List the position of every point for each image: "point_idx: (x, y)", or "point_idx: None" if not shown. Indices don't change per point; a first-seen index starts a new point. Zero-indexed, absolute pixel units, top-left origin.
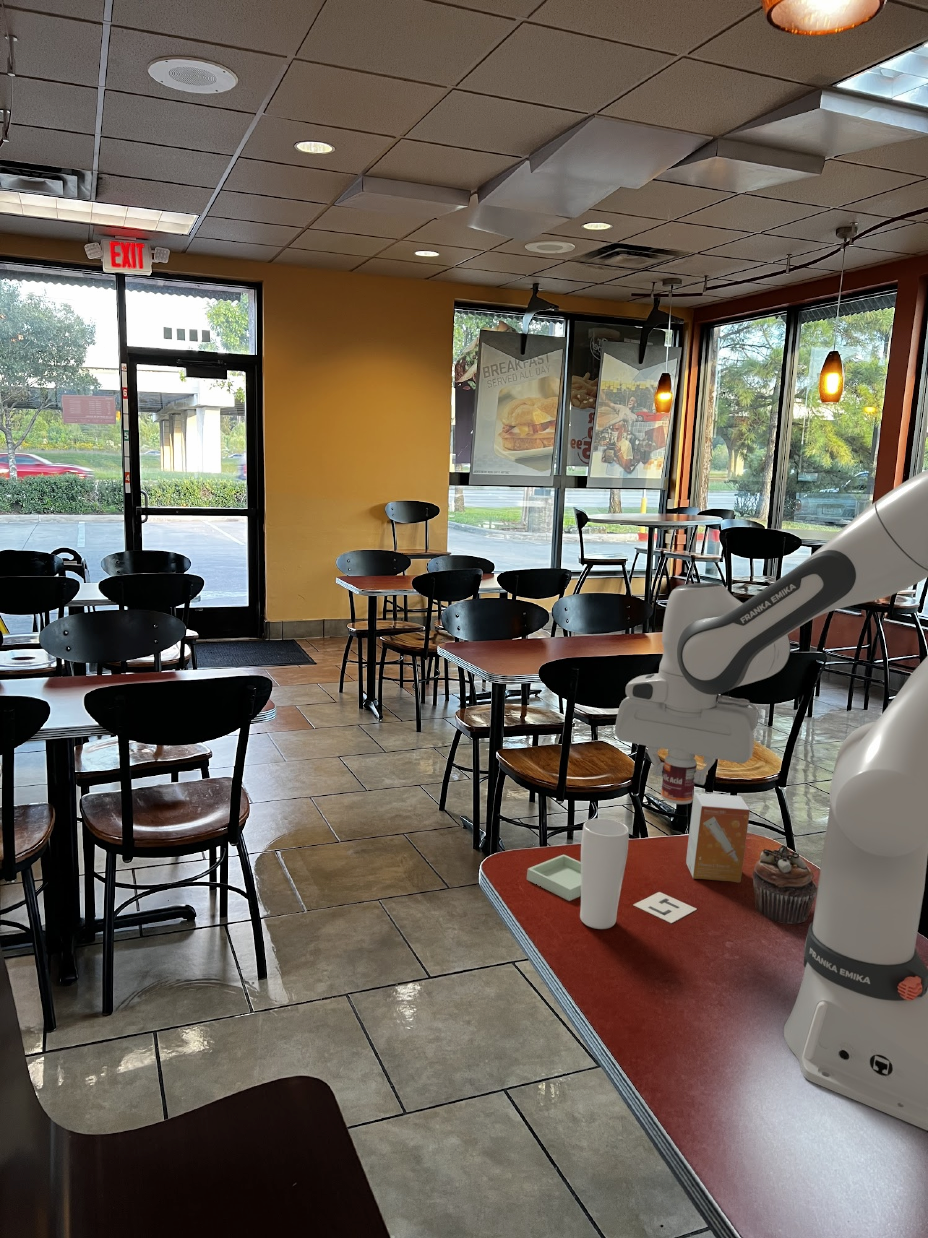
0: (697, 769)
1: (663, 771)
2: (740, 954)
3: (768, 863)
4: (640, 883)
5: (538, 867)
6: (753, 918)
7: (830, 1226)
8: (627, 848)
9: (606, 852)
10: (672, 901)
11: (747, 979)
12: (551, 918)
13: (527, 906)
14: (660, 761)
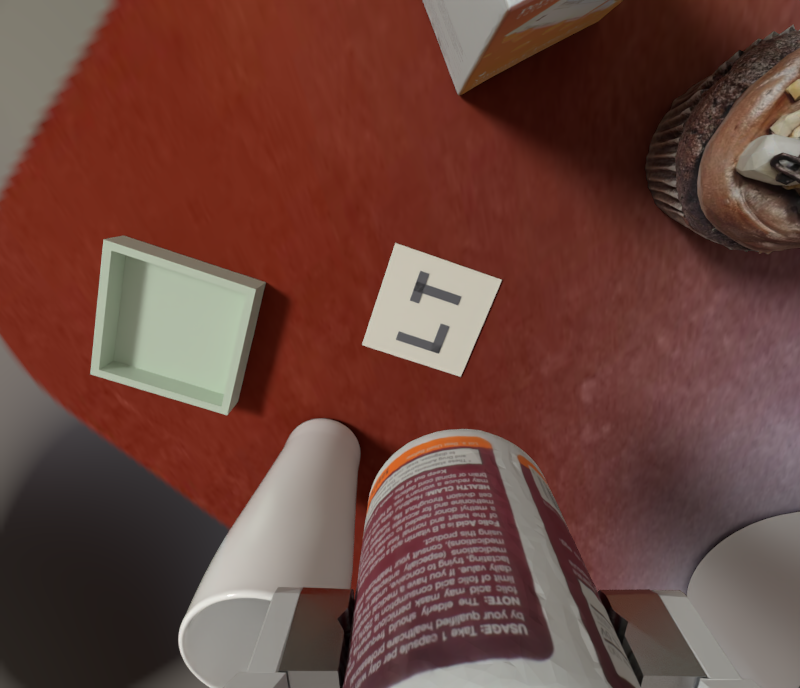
0: (650, 682)
1: (346, 638)
2: (613, 416)
3: (767, 183)
4: (336, 217)
5: (103, 347)
6: (639, 242)
7: None
8: None
9: None
10: (438, 276)
11: (629, 488)
12: (245, 478)
13: (183, 462)
14: (283, 685)
